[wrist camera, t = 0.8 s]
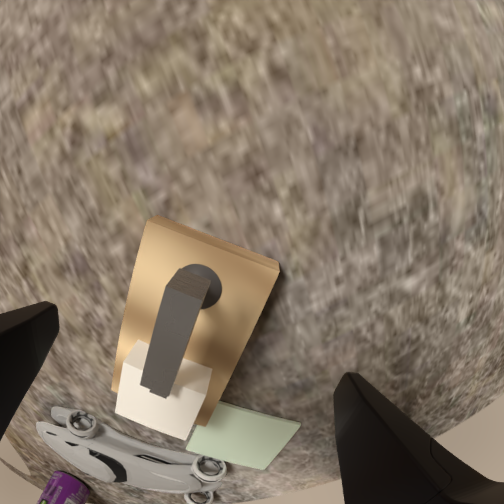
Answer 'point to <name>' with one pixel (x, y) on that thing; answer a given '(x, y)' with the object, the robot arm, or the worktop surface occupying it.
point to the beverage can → (64, 490)
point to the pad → (242, 436)
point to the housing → (214, 305)
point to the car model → (129, 457)
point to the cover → (158, 408)
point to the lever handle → (173, 330)
